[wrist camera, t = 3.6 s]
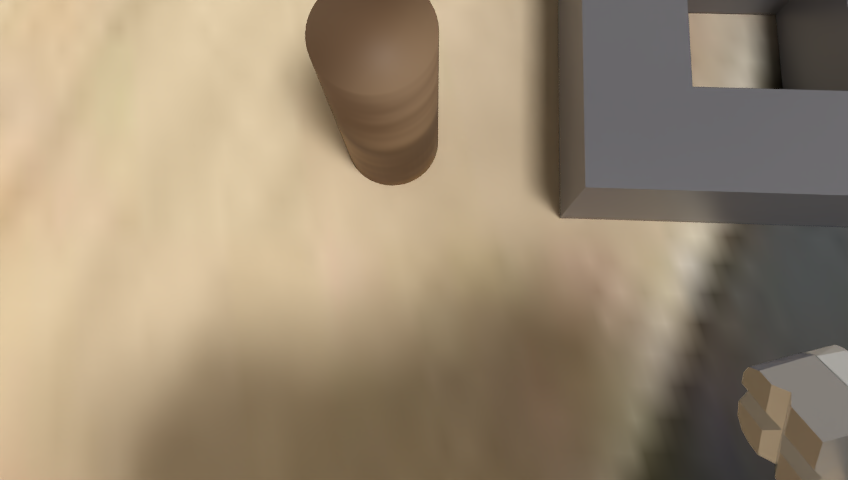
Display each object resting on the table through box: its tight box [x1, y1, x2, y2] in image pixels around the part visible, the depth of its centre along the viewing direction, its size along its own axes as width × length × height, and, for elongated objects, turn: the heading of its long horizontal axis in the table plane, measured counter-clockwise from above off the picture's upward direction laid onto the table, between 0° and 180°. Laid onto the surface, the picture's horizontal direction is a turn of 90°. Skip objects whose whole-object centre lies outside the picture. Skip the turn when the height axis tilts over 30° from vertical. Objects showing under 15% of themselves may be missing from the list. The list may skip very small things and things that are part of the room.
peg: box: [305, 0, 439, 185], centre depth 22 cm, size 4×4×9 cm
